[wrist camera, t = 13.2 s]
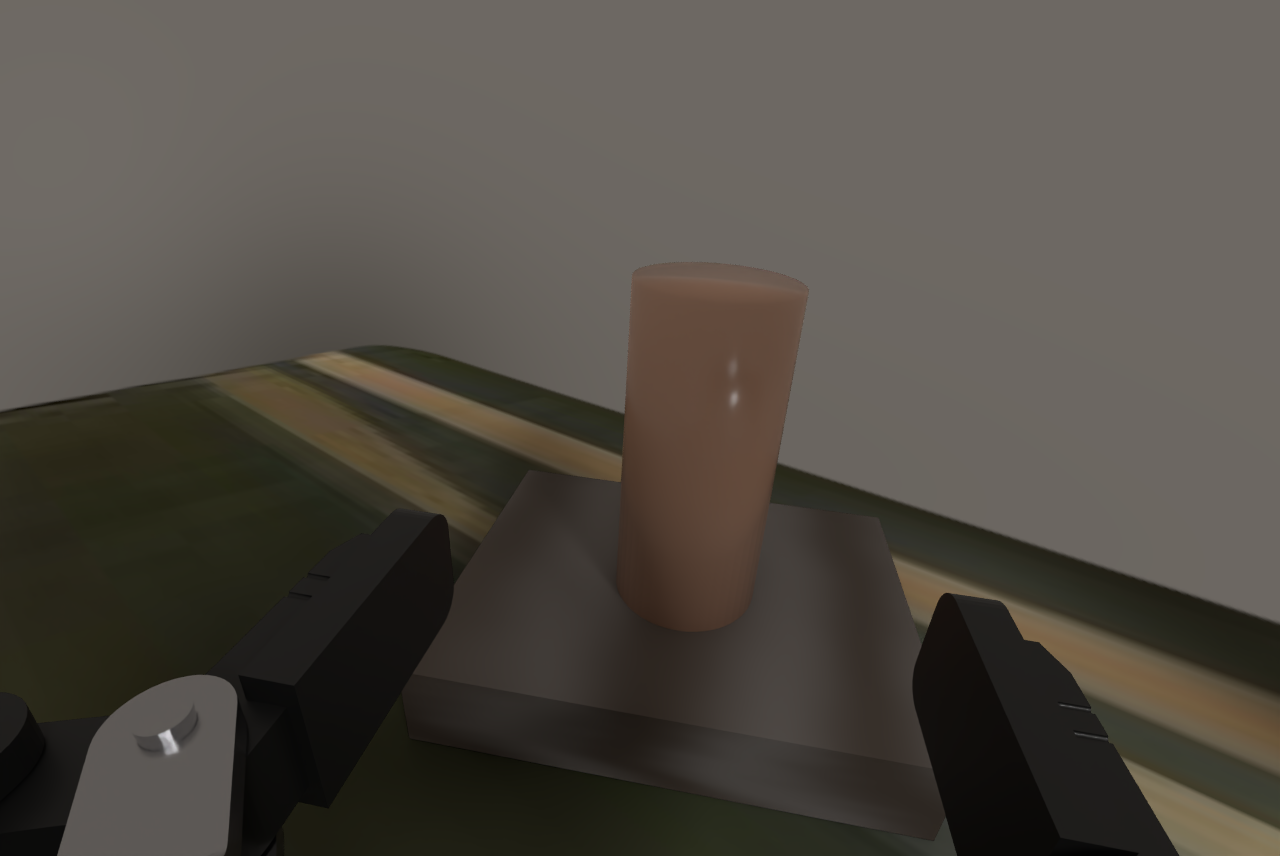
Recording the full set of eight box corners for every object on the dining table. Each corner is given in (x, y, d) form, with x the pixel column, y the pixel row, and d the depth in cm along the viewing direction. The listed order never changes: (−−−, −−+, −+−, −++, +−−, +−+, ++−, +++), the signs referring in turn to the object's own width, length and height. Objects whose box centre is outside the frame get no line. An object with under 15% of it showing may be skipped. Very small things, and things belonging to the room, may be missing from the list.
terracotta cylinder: (752, 549, 24) (802, 270, 19) (752, 643, 20) (816, 312, 15) (629, 530, 25) (646, 256, 20) (602, 617, 20) (615, 292, 15)
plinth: (863, 571, 28) (878, 517, 27) (934, 840, 17) (965, 774, 16) (530, 522, 30) (528, 469, 28) (409, 738, 19) (397, 671, 18)
